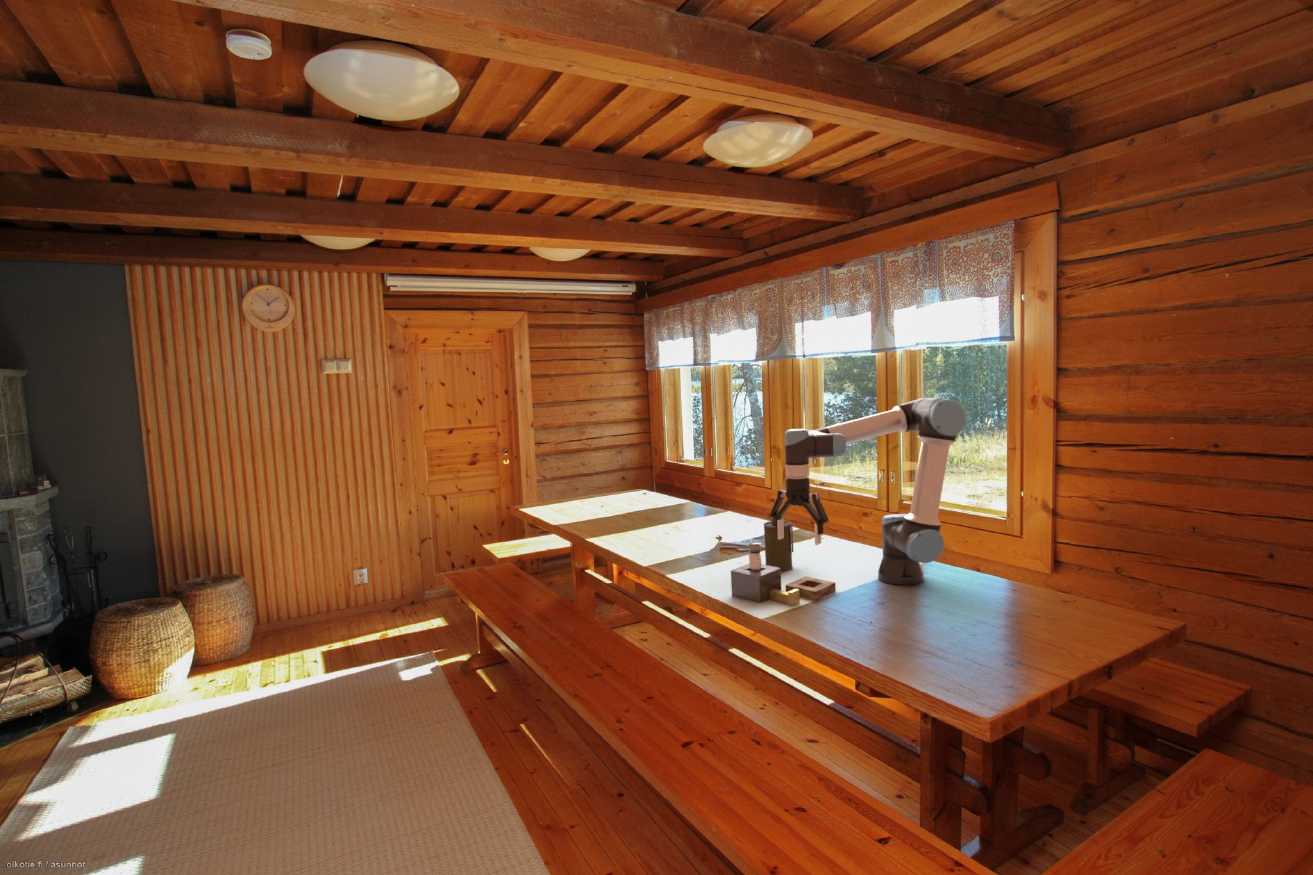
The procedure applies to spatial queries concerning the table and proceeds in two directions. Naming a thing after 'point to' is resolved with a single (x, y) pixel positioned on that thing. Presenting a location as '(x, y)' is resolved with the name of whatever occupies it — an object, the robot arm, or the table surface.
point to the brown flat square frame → (812, 587)
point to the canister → (778, 546)
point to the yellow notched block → (785, 596)
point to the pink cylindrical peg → (755, 556)
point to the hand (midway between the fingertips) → (799, 541)
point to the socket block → (755, 582)
